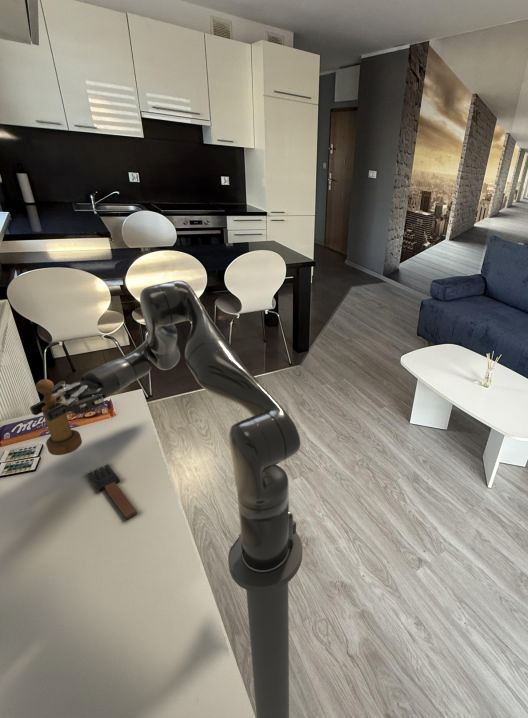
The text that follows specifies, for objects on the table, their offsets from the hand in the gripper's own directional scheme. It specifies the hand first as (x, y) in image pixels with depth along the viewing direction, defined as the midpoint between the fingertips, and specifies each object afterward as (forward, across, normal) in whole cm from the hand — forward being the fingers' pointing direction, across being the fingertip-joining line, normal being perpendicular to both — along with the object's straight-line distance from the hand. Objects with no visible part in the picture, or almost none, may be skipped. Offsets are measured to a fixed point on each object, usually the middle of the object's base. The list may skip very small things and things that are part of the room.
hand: (39, 414), depth 86 cm
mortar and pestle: (-3, 0, +11) cm, 12 cm away
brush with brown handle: (-1, +15, +18) cm, 24 cm away
